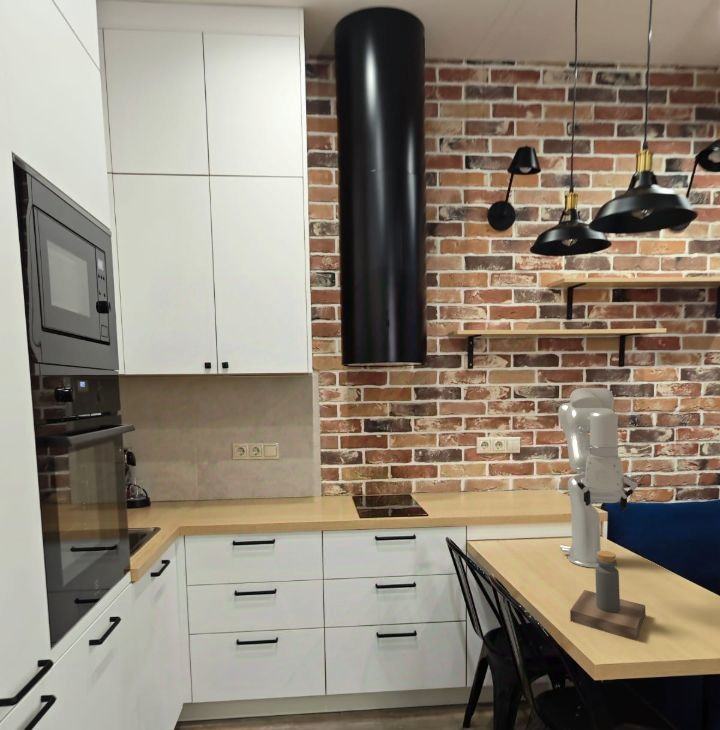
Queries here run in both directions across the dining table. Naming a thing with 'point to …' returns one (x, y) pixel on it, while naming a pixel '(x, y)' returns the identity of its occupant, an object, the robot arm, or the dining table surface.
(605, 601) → the bottle
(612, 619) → the base
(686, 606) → the dining table surface
